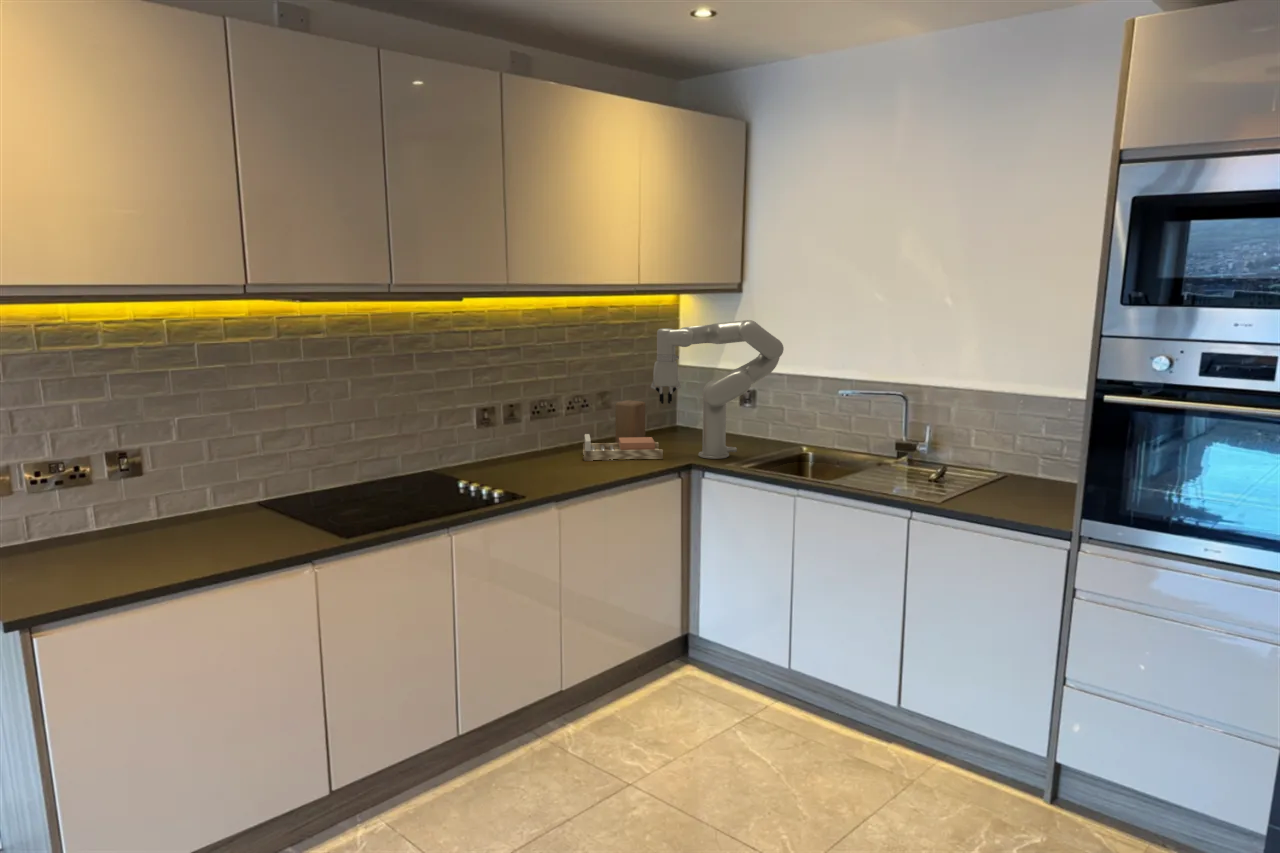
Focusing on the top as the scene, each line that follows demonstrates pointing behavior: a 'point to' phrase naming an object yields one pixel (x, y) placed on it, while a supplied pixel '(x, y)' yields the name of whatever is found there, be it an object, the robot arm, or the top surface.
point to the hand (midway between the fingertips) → (665, 402)
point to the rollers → (603, 447)
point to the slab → (637, 443)
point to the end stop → (587, 443)
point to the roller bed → (620, 453)
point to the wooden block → (630, 419)
